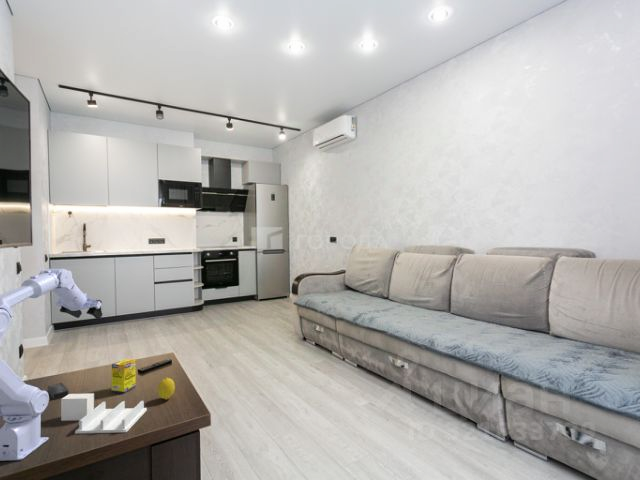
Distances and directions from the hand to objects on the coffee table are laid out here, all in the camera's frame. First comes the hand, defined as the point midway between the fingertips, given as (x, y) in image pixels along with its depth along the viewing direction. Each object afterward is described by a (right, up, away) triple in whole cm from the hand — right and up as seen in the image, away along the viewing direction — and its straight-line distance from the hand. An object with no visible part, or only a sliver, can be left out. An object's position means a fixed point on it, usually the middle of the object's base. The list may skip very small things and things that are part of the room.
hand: (89, 316), depth 119 cm
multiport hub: (-16, -31, +5) cm, 35 cm away
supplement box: (+7, -31, +9) cm, 33 cm away
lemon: (+28, -31, +1) cm, 41 cm away
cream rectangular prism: (+4, -31, -12) cm, 33 cm away
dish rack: (+17, -30, -14) cm, 38 cm away
